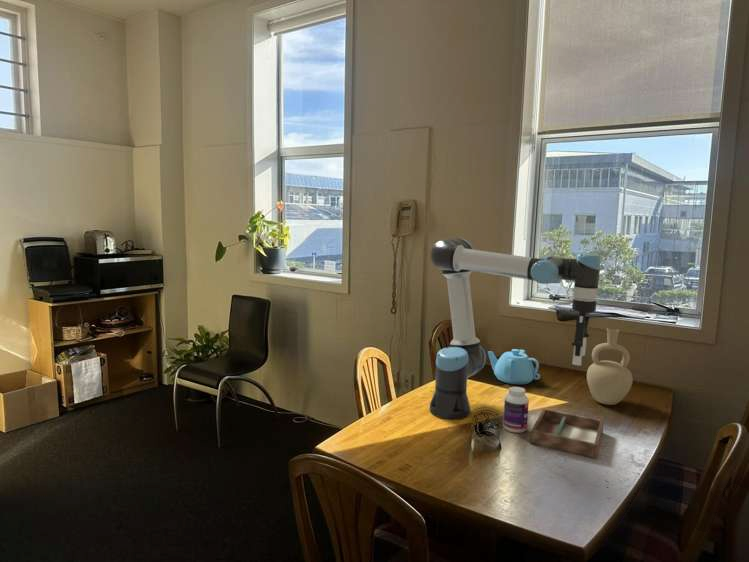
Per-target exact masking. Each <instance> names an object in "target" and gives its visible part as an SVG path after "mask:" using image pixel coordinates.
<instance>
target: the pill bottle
mask: <svg viewBox="0 0 749 562" xmlns="http://www.w3.org/2000/svg"><path fill="white" fill-rule="evenodd" d="M503 402H504V405H503V406H504V407H503V420H502V421H503V422H502V423H503V424H502V425H503V428H504V429H505V430H506V431H508V432H511V433H517V434H518V433H519V434H520V433H525V432H526V431H527V430H528V429H527V428H528V417H529V416H528V415H529V404H530V403H529V402H530V399H529V397H528V396H527V395H526V389H525V388H524V387H520V386H511V387H509V388H508V393H507V394H506V395H505V396H504V401H503Z"/></svg>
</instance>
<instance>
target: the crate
mask: <svg viewBox="0 0 749 562" xmlns="http://www.w3.org/2000/svg"><path fill="white" fill-rule="evenodd" d="M604 422H605V420H603V419H598V418H593V417H587V416H584V415H583V416H582V415H578V414H573V413H568V412H562V411H558V410H554V409H548V408H543V409H542V410H541V412H540V415H539V416H538V417H537V419H536V421H535V423H534V425H532V428H531V429H530V438H529V444H530V445H533V446H537V447H538V446H539V447H542V448H547V449H550V450H551V449H552V450H556V451H560V452H565V453H568V454H572V455H576V456H582V457H585V458H590V459H593V460H594V459H595V460H597V459H598V454H599V451H600V447H601V443H602V442H601V441H602V437H603V434H604V432H603V431H604Z"/></svg>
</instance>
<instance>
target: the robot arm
mask: <svg viewBox="0 0 749 562" xmlns="http://www.w3.org/2000/svg"><path fill="white" fill-rule="evenodd" d="M429 258H430V262H431V263H432V265H433V267H435V268H437V269H438V270H441V272H442V273H441V274H442V276H444V277H445V278H446V282H447V283H446V285H447V290H448V291H447V292H448V300H449V301H448V302H449V309H450V317H451V318H450V319H451V327H452V337H453V338H452V340H450V343H449V346H448V347H444V348H442V349H439V351H437V353H436V358H435V379H434V380H435V384H434V392H433V394H432V398H431V400H430V403H429V412H430V414H433V415H434V416H435V417H438V418H442V419H448V420H459V419H465V418H467V417H469V416H470V415H471V404H470V399H469V397H468V394H467V388H468V387H467V386H468V379H469V378H470V377H472V376H474V375H476V374H478V373H479V372H480V371H482V369H484V366H485V365H486V361H487V360H486V359H487V354H486V352H485V349H484V348H483V347H482V346H481V340H480V339H479V338H478V337H476V329H475V321H474V311H473V300H472V293H471V284H470V283H471V282H470V275H471V274H472V272H477V273H483V274H484V273H485V274H491V275H497V276H503V277H508V278H516V279H523V280H529V281H533V282H536V283H538V284H542V285H549V284H551V283H553V282H555V281H558V280H560V281H561V280H562V281H571V282H573V281H574V284H573V293H572V297H573V299H572V305H571V309H572V310H573V311H574V312H579V313H578V314H576V316H575V320H576V321H575V334H574V342H572V343H571V346H572V347H573V351H572V352H573V353H572V363H571V364H572V365H574V366H582V358H583V357H585V356H586V349H587V348H586V347H587V339H588V338H590V337H589V336H590V334H588V329H589V328H588V326H589V324H590V323H589V322H590V317H591V316H590V315H589V313H590V314H591V313H595V312H596V309H597V301H596V300H597V298H598V295H599V294H600V290H598V288H599V281H600V274H601V256H599V254H594V253H578V254H577V255H576V258H566V257H565V258H564V257H556V256H543V257H541V258H538V257H536V258H535V257H529V256H528V257H527V256H523V255H516V254H515V255H513V254H509V253H507V254H506V253H500V252H494V251H492V252H491V251H486V250H478V249H475V248H474V246H473V245H472V243H470V241H468V240H466V239H464V238H460V237H458V238H448V239H447V238H445V239H444V238H443V239H440V240H438V241H436V242H435V243H433V245H432V246H431V248H430V252H429Z"/></svg>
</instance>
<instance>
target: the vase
mask: <svg viewBox="0 0 749 562" xmlns="http://www.w3.org/2000/svg"><path fill="white" fill-rule="evenodd" d="M620 331H621V330H620V329H619V328H618V329H617V328H611V327H610V328H609V327H607V328H606V333H607V334H606V335H607V342H602V343H599V344H597V345H595V346H594V347H593V349H592V352H591V359H592V361H593V363H591V365H589V366H588V369H587V371H586V380H587V386H588V388H589V391H590V393H591V396H592V398H593V399H594V400H595V402H598V403H600V404H602V405H607V406H614V405H617V404H619V403H621V401H622V400H624V398H625V397H626V396H627V394H628V393H629V391H630V390H631V388H632V386H633V383H634V382H633V380H634V379H633V374H632V372H631V370H629V368H628V365H629V364H630V358H631V354H630V353H629V351H628V349H626V347H624V346H622V345H620V344H618V336H619V333H620ZM604 350H614V351H619V352H620V353H622V359H621V361H620V362H617V361H614V360H607V359H606V360H600V359H599V353H600V352H601V351H604Z"/></svg>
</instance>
